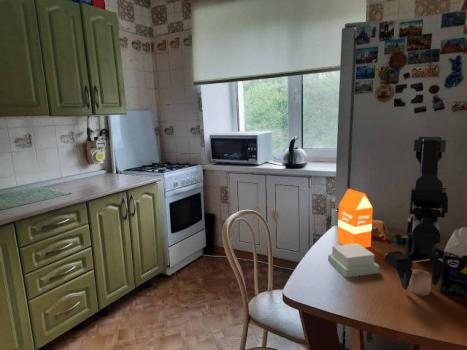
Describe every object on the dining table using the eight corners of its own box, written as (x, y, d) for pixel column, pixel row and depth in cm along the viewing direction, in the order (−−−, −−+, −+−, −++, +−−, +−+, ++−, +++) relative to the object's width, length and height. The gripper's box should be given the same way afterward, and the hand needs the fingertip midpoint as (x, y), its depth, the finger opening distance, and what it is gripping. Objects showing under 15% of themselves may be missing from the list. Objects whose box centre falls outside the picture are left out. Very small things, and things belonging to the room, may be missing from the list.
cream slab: (357, 251, 111) (357, 243, 111) (373, 263, 103) (374, 254, 102) (332, 254, 109) (332, 246, 109) (347, 267, 101) (347, 258, 100)
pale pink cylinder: (420, 284, 94) (422, 268, 93) (434, 294, 90) (436, 277, 89) (404, 287, 93) (406, 270, 92) (417, 296, 89) (419, 279, 88)
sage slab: (358, 259, 112) (358, 251, 112) (378, 275, 102) (379, 265, 101) (328, 263, 110) (328, 254, 110) (345, 279, 100) (345, 270, 99)
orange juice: (353, 250, 118) (356, 195, 114) (337, 241, 126) (339, 189, 122) (371, 246, 121) (374, 192, 117) (353, 237, 129) (356, 187, 125)
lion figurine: (351, 233, 133) (351, 212, 131) (355, 229, 137) (356, 208, 135) (390, 242, 124) (392, 218, 122) (394, 237, 128) (396, 215, 126)
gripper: (431, 219, 98) (427, 269, 101) (374, 225, 94) (371, 276, 97) (464, 233, 87) (458, 288, 90) (400, 240, 83) (396, 297, 87)
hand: (419, 286), depth 91 cm, fingers open, 9 cm apart
